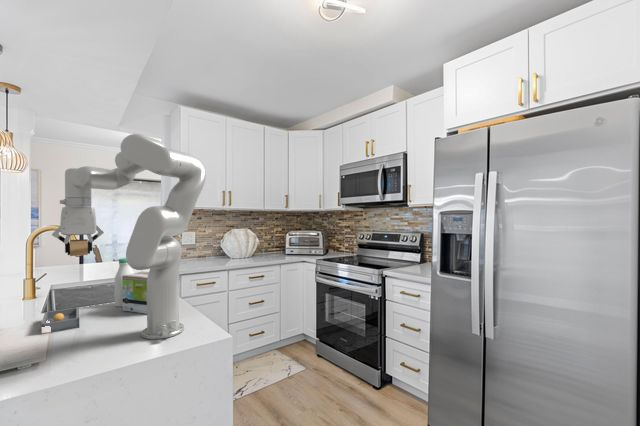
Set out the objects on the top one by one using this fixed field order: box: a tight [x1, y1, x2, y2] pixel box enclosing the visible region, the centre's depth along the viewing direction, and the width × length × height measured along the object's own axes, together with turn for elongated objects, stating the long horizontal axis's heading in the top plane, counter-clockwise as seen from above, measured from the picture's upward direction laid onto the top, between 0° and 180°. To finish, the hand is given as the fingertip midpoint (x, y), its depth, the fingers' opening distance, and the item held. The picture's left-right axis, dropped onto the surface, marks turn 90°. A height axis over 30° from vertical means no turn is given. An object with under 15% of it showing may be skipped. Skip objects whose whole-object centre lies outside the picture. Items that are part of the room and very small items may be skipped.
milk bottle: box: [114, 257, 135, 308], centre depth 137 cm, size 8×8×20 cm
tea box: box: [122, 270, 149, 315], centre depth 130 cm, size 15×10×15 cm, turn 73°
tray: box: [40, 306, 80, 334], centre depth 113 cm, size 17×10×3 cm, turn 38°
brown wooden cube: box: [69, 238, 89, 257], centre depth 113 cm, size 5×5×5 cm
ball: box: [53, 313, 64, 322], centre depth 113 cm, size 3×3×3 cm
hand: (79, 253), depth 113 cm, fingers closed on brown wooden cube, 5 cm apart
